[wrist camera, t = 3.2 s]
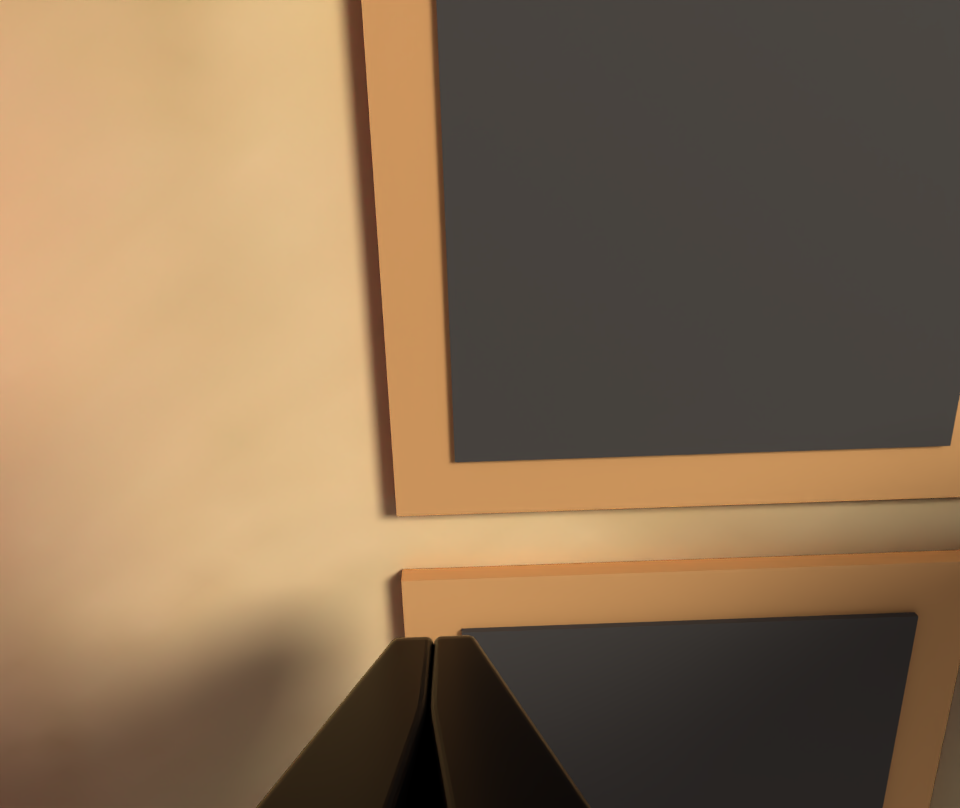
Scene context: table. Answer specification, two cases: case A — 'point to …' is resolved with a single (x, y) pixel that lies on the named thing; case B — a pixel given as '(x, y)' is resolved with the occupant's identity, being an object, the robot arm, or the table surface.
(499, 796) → the robot arm
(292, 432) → the table surface
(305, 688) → the table surface
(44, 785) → the table surface
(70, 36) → the table surface
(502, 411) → the pit traps
